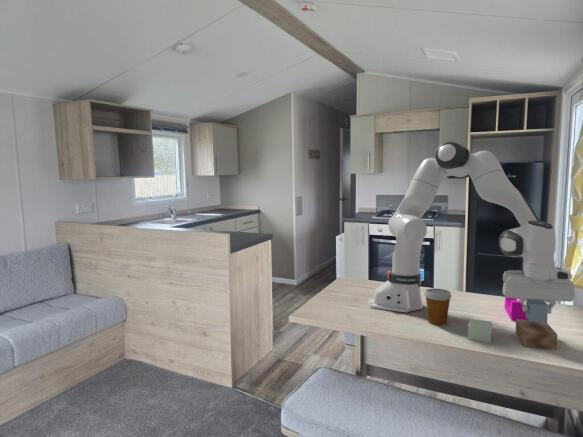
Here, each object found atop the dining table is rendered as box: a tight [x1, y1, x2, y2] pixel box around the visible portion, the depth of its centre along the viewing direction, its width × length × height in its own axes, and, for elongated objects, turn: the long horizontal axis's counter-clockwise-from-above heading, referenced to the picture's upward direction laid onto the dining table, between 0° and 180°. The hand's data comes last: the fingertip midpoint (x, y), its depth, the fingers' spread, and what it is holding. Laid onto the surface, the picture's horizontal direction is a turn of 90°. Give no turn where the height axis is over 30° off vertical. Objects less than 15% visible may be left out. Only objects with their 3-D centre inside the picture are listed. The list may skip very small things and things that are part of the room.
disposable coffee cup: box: [424, 287, 452, 326], centre depth 150 cm, size 10×10×12 cm
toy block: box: [504, 296, 528, 322], centre depth 157 cm, size 15×6×8 cm, turn 161°
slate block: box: [525, 299, 549, 323], centre depth 132 cm, size 5×5×6 cm
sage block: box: [467, 318, 492, 344], centre depth 136 cm, size 7×7×5 cm
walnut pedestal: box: [515, 319, 558, 351], centre depth 132 cm, size 9×12×5 cm
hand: (536, 312), depth 132 cm, fingers closed on slate block, 5 cm apart
